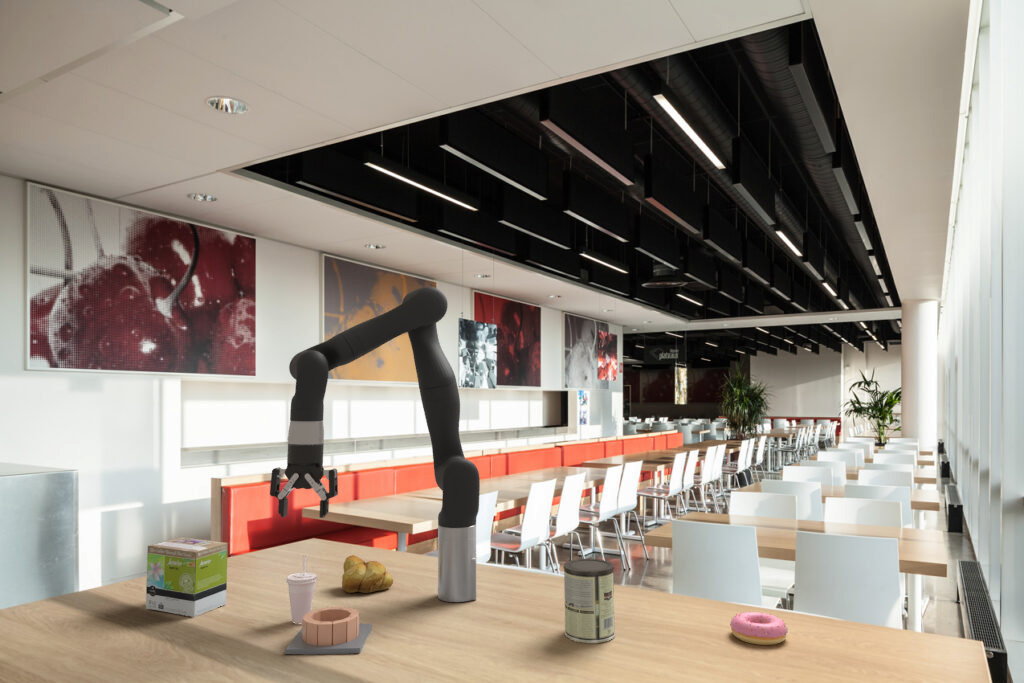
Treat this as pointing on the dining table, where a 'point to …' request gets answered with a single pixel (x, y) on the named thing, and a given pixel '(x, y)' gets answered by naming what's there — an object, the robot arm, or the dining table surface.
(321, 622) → the collar
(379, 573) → the bread roll
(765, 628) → the doughnut
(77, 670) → the dining table surface
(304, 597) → the smoothie
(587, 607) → the coffee can
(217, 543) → the tea box
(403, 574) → the dining table surface
